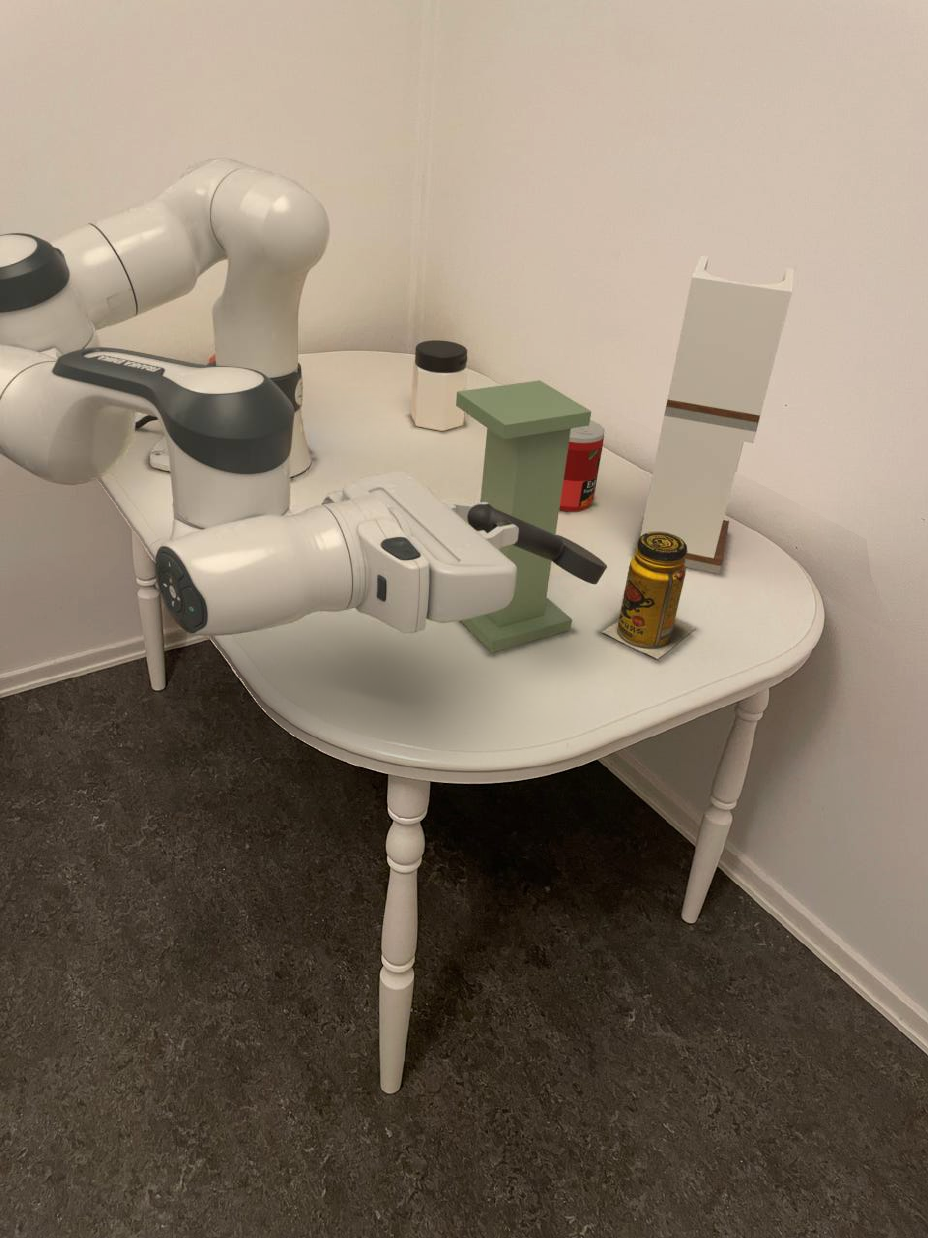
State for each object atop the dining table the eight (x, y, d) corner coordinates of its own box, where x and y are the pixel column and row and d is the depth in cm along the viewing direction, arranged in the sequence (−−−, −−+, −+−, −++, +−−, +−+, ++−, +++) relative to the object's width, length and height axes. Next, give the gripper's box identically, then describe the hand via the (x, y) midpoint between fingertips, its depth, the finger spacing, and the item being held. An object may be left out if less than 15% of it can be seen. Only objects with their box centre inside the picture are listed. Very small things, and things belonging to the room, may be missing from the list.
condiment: (601, 633, 108) (619, 540, 101) (640, 605, 114) (659, 515, 107) (657, 661, 104) (679, 566, 98) (694, 630, 110) (718, 538, 103)
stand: (483, 655, 103) (508, 426, 88) (438, 608, 110) (454, 389, 95) (570, 630, 108) (607, 411, 94) (522, 587, 115) (549, 376, 101)
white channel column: (719, 574, 121) (792, 291, 102) (636, 556, 123) (691, 277, 104) (725, 534, 131) (793, 268, 111) (648, 518, 133) (701, 255, 113)
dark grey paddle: (482, 540, 82) (496, 516, 81) (447, 510, 86) (460, 487, 86) (607, 590, 94) (620, 569, 93) (571, 561, 98) (584, 541, 97)
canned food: (590, 516, 132) (603, 441, 126) (533, 507, 133) (542, 432, 127) (595, 492, 138) (607, 420, 132) (540, 484, 139) (550, 412, 133)
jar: (467, 431, 154) (473, 357, 147) (417, 432, 152) (421, 357, 145) (455, 410, 161) (461, 339, 154) (407, 410, 159) (411, 338, 152)
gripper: (313, 529, 89) (444, 503, 95) (417, 646, 74) (562, 607, 81) (313, 466, 85) (448, 444, 92) (421, 577, 71) (573, 542, 77)
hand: (503, 521), depth 86 cm, fingers closed on dark grey paddle, 2 cm apart
